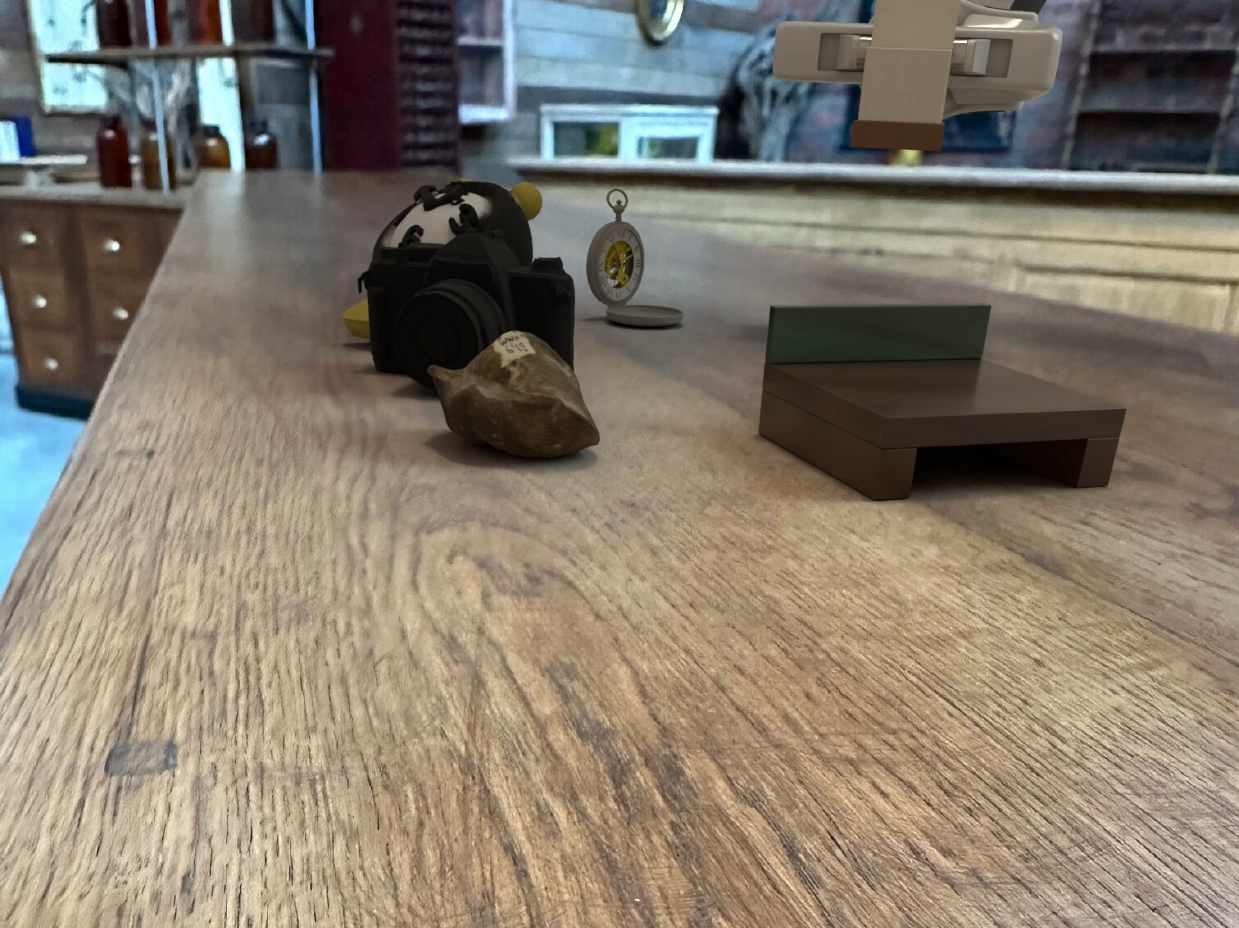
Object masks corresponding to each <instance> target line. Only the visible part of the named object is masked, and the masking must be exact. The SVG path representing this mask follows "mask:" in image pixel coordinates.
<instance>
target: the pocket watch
mask: <svg viewBox="0 0 1239 928" xmlns="http://www.w3.org/2000/svg"><path fill="white" fill-rule="evenodd" d="M614 192H618V193H620V194H621V195H623V197H624V200H625V201H624V204H623V201H622V199H617V200H616V201H615V205H613V204H612V202H611V201H610V197H611V194H613V193H614ZM606 202H607V205H608V206H609V208H610V209H612V211H613V213H614V214H615V220H614V221H611V222H607V223H606V224H603V226H601V227H600V228H599V229H598V230H597V232H596V233H595V235H593V237H592V239H591V242H590V245H589V246H588V252H587V255H586V263H585V270H586V271H585V273H586V280H587V284H588V286H589V289H590V292H591V293H592V295H593V297H595V299H596V300H597V301H598V302H600V303H601V304H603V305H606V306H607V308H606V309H605V310H606V311H605V314H606V317H607V319H608V320H610V321H613V322H615V323H619V324H622V325H624V326H626V325H628V326H637V327H638V326H639V327H644V328H650V327H667V326H672V325H677V324H679V323H682V321H683V320H684V317H685V312H684V311H683V310H681V309H679V308H674V307H669V306H661V305H652V304H628V302H629V301H630V300H632V299H633V297H634V296H635V294H636V293H637V292H638V290H639V288H640V285H641V282H642V280H643V275H644V272H645V250H644V249H645V248H644V244H643V241H642V237H641V235H640V233H639V232H638V230H637V228H635V226H634V225H632V224H631V223H630V222H627V221H622V220H623V219H622V214H623V213H624V212H625V210H626V208H627V207H628V205H629V197H628V195H627V193H626V192H625V191H624V190H623V189H621V188H616V187H615V188H612V189H610V190H609V191H608V192H607V193H606ZM611 270H612V272H611ZM608 279H610V280H612V281H613V283H614V284H613V286H612V285H611V284H610V283H609V280H608ZM616 282H617V283H616Z"/></svg>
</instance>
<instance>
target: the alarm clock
mask: <svg viewBox="0 0 1239 928" xmlns="http://www.w3.org/2000/svg"><path fill="white" fill-rule="evenodd" d="M413 200H414V202H413V203H412V204H409V205H408V206H407V207H406V208H405V209H403V210H402V211H401V212H399V213H398V214H397V215H396V216H395V217H394V218H393V219H391V221H389V223H388V224H387V225H386V226H385V228H384V229H383V230H382V231H381V233H380V234H379V235H378V237H377V240H376V242H375V244H374V246H373V249H372V255H371V261H373V260H374V259H376V258H379V257H380V248H382V247H398V244H399V243H407V245H408V246H410V245H412V244H413V243H414V242H419V243H437V244H446V243H448V242H449V241H450V240H452V239H453V238H454V237H456V236H458V235H459V234H461V233H462V234H464V230H465V229H469V228H477V233H488V231H493V230H503V233H504V236H503V240H504V242H505V243H506V244H507V246H508V247H509V249H510V250H511V251H512V252H513V253H514V254H515V256H516V257H517V259H518V261H519V263H520V265H521V267H531V266H532V263H533V261H534V244H533V236H532V231H531V226H530V224H529V221H531V220H534V219H536V218H537V216H538V215H539V214H540V213H541V210H542V208H543V196H542V193H541V192H540V190H539V188H538V187H536V186H535V185H534V184H533V183H530V182H528V181H522V182H519V183H516V184H514V185H513V187H512V188H511V189H510V190H508V189H507V188H505V187H503V186H501V184H497V183H494V182H489V181H476V180H475V181H473V180H472V179H469V178H466V177H463V178H458V179H456V180H455V181H453V180H452V181H450V183H448V184H446V185H444V187H443V188H441V189H437V187H436V184H426V185H421V186H419V187H418V189H416V191H415V192H414V193H413ZM341 318H342V320H343V324H344V326H345V327H346V329H347V330H348V331H349V332H350V334H351V335H352V337H354V338H359V339H364V340H369V341H370V329H369V317H368V300H367V298H365V299H364V300H361V301H360V302H358V303H356V304H355V305H352V306H351V307H350V308H348V309H347V310H345V311H344V312H343V313H342V314H341Z"/></svg>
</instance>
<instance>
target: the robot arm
mask: <svg viewBox="0 0 1239 928" xmlns="http://www.w3.org/2000/svg"><path fill="white" fill-rule="evenodd" d="M1047 1H1048V0H960V4H959V11H958V18H957V24H956V31H955V38H954V44H953V51H952V57H951V64H950V71H949V77H948V84H947V90H946V97H945V104H944V110H943V117H942V120H944V119H947V118H950V117H953V116H958V115H961V114H965V115H971V114H981V113H1006V112H1019V111H1021V110H1022V109H1023V106H1024V104H1025V102H1028V101H1029V102H1030V101H1034V100H1037V99H1039V98H1041V97H1043V96H1046V95H1047V94H1048V93H1050V92H1051V91H1052V89H1053V87H1054V86H1055V82H1056V81H1055V80H1056V77H1057V71H1058V67H1059V62H1060V56H1061V50H1062V45H1063V44H1062V43H1063V39H1064V38H1063V37H1064V36H1063V35H1064V34H1063V31H1062V29H1061V28H1059V27H1057V26H1055V25H1052V24H1050V23H1044V22H1040V21H1039V14H1040V12H1041V10H1042V8H1044V6H1045V4H1046V3H1047ZM873 23H874V15H873V16H872V17H871V19H870V20H869V22H868V23H866V22H865V23H864V22H835V21H833V22H832V21H831V22H830V21H802V20H801V21H800V20H789V21H782V22H779V23H778V25H777V26H776V31H775V35H774V36H775V38H774V47H773V58H772V59H773V60H772V75H773V77H774V78H775V79H776V80H779V81H786V82H799V83H819V84H821V83H824V84H844V85H845V84H846V85H858V86H859V88H860V90H861V91H862V83H863V74H864V66H865V58H866V49H867V47H871V39H872V31H873Z"/></svg>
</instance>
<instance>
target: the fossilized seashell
mask: <svg viewBox="0 0 1239 928" xmlns="http://www.w3.org/2000/svg"><path fill="white" fill-rule="evenodd" d="M427 372H428V374H429V375H430V376H431V377H432V378H433V382H434V384H435V387H436V389H437V391H436V392H437V394H438V397H439V403H440V407H441V409H442V412H443V415H444V420H445V424H446V425H447V427H448V429H449V430H450V431H451V432H452V433H453V434H455V435H456V436H457V437H459V438H460V439H462V440H465V441H467V442H469V443H472V444H479V445H483V444H485V445H486V444H487V445H491V446H492V447H494V448H495V449H497V450H500V451H504V452H506V453H507V454H509V455H517V456H521V457H524V458H556V457H561V456H566V455H569V454H572V453H576V452H580V451H582V450H585V449H587V448H591V447H593V446H598V445H599V444H600V441H601V436H600V431H599V429H598V427H597V424H596V423H595V420H594V418H593V415H592V414H591V411H590V410H589V408H588V407H587V405H586V403H585V400H584V398H583V393H582V390H581V384H580V382H579V379H578V377H577V375H576V373H575V371H574V372H573V370H572V369H571V367H570V366H569V365H568V364H567V363H566V362H565V361H563V360H562V359H561V358H560V356H559V355H558V354H557V352H555V351H554V350H553V349H552V348H551V347H550V346H549V345H548V344H547V343H546V342H545V341H542V340H541V339H539V338H538V337H536V336H535V335H533V334H531V333H527V332H519V331H510V332H507V333H505V334H503V335H501V336H500V337H499V338H498V339H496V340H495V341H494V342H493V343H492V344H491V345H490V346H488V347H487V348H486V349H485V350H484V351H482V352H481V353H480V354H479V355H478V356H476V357H475V358H474V359H473V360H472V361H471V362H470V363H469V364H468V365H467V367H466V368H463V369H461V370H448V369H445V368H442V367H439V366H436V365H432V366H429V368H428V370H427Z"/></svg>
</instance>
